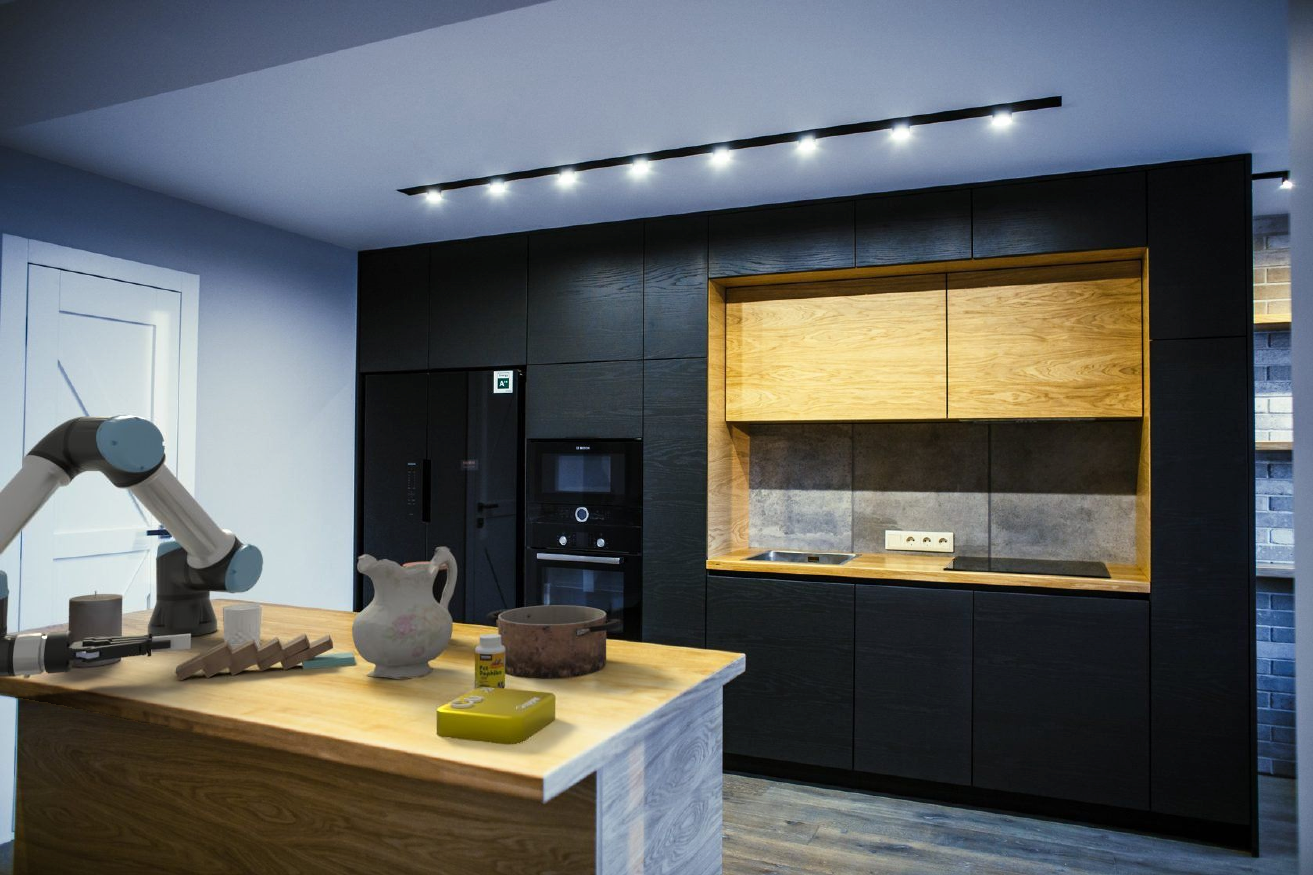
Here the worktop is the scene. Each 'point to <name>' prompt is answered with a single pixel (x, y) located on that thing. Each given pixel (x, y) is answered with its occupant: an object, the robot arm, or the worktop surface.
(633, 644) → the worktop surface
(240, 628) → the white cup
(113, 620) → the pillar candle
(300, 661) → the domino
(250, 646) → the domino
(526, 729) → the element tile
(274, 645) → the domino
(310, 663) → the domino
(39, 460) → the robot arm
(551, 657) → the cooking pot
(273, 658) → the domino
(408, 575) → the ceramic pitcher
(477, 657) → the supplement bottle
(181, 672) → the domino
